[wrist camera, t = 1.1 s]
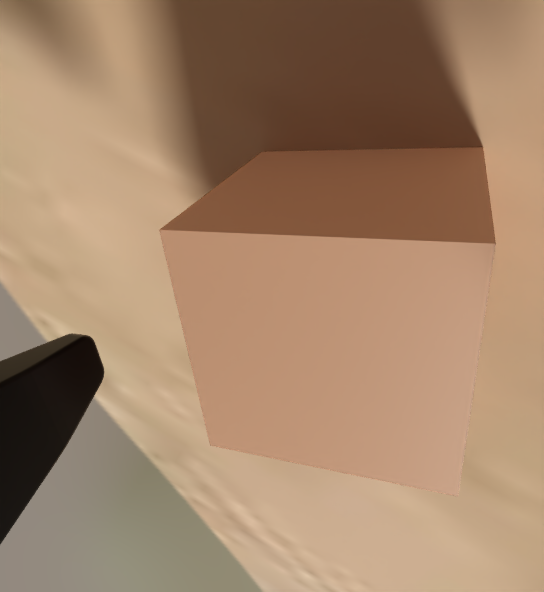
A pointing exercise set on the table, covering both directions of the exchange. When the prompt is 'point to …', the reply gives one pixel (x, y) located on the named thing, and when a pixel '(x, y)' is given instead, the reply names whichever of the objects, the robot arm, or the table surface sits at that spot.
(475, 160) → the light brown cube
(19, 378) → the robot arm
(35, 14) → the table surface
